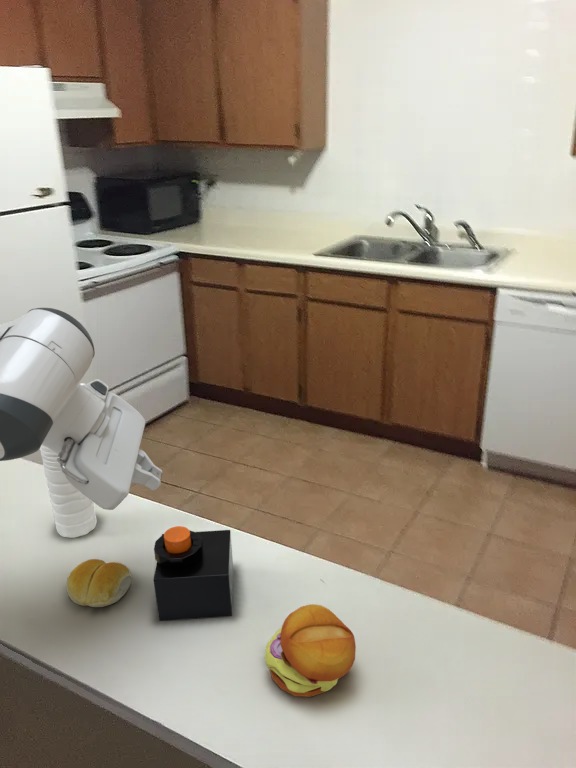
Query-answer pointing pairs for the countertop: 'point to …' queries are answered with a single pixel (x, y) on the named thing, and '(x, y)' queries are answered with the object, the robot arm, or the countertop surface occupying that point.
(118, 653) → the countertop surface
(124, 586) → the bread roll
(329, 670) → the cheeseburger
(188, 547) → the orange button cap
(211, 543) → the black push button box
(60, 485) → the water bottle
